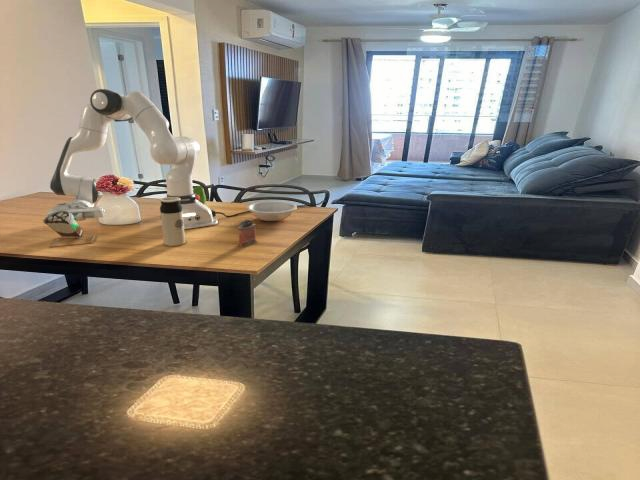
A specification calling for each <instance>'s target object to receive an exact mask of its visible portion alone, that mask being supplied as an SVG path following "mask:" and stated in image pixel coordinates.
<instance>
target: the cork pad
mask: <svg viewBox="0 0 640 480" xmlns="http://www.w3.org/2000/svg"><path fill="white" fill-rule="evenodd" d="M95 239H96V235H87V236H82V237H61V238H55V239H54V241H53V242H52V243H51V245H49V246H50V248H56V247H66V246H76V245H77V246H78V245H88V244H94V241H95Z"/></svg>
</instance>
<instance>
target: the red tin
mask: <svg viewBox="0 0 640 480" xmlns="http://www.w3.org/2000/svg"><path fill="white" fill-rule="evenodd" d="M239 225H240V226H238V227H237V230H238V246H239V247H247V246H250V245H251V246H252V245H253V244H256V243H257V239H256V223H253V219H252V218H250V219H248V218H245V219H244V220H240V221H239Z"/></svg>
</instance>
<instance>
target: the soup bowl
mask: <svg viewBox="0 0 640 480" xmlns="http://www.w3.org/2000/svg"><path fill="white" fill-rule="evenodd" d="M297 206H298V205H296V204H294V203H292V202H288V201H281V200H280V201H279V200H265V201H258V202H253V203H251V204H248V205H247V207H246V209H247V211H251V212H250V213H251V214H252V215H253V216H254V217H255V218H256V219H258V220H261V221H264V222H278V221H283V220H286V219H288V218H289V217H290V216H291V215H292V213H293V212H294V211H295V210H297V208H298V207H297Z"/></svg>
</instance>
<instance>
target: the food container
mask: <svg viewBox="0 0 640 480" xmlns="http://www.w3.org/2000/svg"><path fill="white" fill-rule="evenodd" d="M42 223H44V225H47V227H49V228H50V229H52V230H53V231H54V232H55V233H57V234H58V235H59V236H60V237H61V238H73V237H83V235H84V230H83V229H82V227H81V226H80V224H78V222H77V221H76V220H74V216H73V215H72V214H71V213H69V212H67V211H63V210H62V211H57V212H54V213H52V214H50V215H49V216H46V217H44V219H43V220H42Z"/></svg>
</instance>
